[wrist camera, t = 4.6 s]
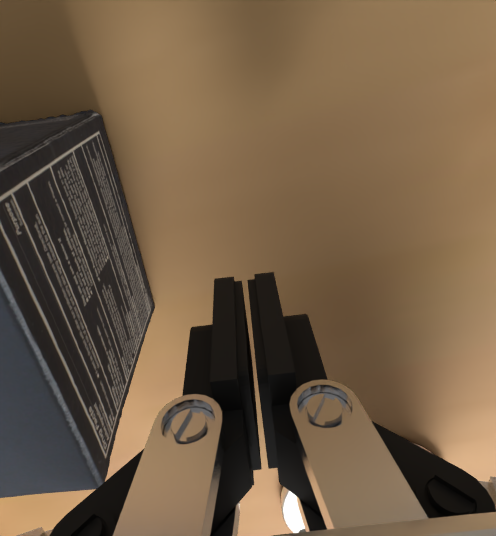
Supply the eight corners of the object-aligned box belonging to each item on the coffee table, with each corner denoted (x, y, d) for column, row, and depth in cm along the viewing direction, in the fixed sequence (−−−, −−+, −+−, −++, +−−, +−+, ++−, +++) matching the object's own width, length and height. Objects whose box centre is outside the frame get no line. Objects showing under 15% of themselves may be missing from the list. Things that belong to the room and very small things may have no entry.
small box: (-48, 127, 17) (-359, 218, 8) (102, 107, 17) (-40, 175, 8) (43, 324, 22) (-84, 517, 13) (158, 309, 22) (112, 493, 13)
